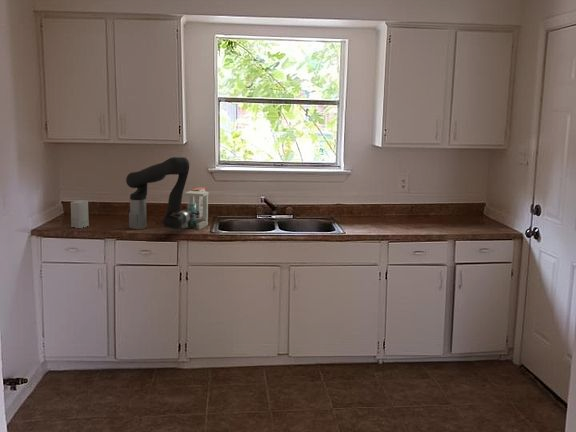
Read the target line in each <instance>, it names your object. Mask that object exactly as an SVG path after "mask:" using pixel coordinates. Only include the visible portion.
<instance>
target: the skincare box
mask: <svg viewBox="0 0 576 432" xmlns="http://www.w3.org/2000/svg"><path fill="white" fill-rule="evenodd" d="M70 220H71V221H70V223H71V225H70V226H71V227H75V228H74V229H77V228H81V229H84V228H88V227H90V223H89V201H88V200H84V199H83V200H82V199H79V200H75V201H74V200H73V201H70ZM87 226H88V227H87ZM83 227H84V228H83Z"/></svg>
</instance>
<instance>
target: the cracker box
mask: <svg viewBox="0 0 576 432" xmlns="http://www.w3.org/2000/svg"><path fill="white" fill-rule="evenodd" d="M207 190H208V189H207V187H204V186H203V187H196V188H193V189H191V190H190V191H200V192H208V191H207ZM194 203H196V211H198V212H200V217H199V219H203V197H199V196H194Z"/></svg>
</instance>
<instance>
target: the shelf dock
mask: <svg viewBox="0 0 576 432" xmlns="http://www.w3.org/2000/svg"><path fill="white" fill-rule="evenodd" d="M183 194H184V195H183V196H184V197H185V196H186V197H189V198H188V199H189V202H188V203H194V196H199V197H203V219H199V218H196V230H201V229H202V228H205V227H206V226H208V224H209V221H208V220H209V194H210V193H209V191H207V192H200V191H191V190H189V191H186V192H183ZM186 228H189V227H188V222H187V223H185V224H182V226H181V229H186Z"/></svg>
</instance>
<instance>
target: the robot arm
mask: <svg viewBox="0 0 576 432" xmlns="http://www.w3.org/2000/svg"><path fill="white" fill-rule="evenodd" d="M189 171H190V161H189V159H188V158H187V157H181V156H179V157H178V156H174V157H170V158H168V159H166V160H164V161H162V162H161V163H156V164H153V165H150V166H149V167H145V168H144V169H142V170H138V171H133V172H130V173H128V174H127V175H126V179H125V182H126V185H127V186H128V187H129V188H132V189H136V190H135V191H134V192H132V193H131V194H130V195H129V212H128V224H129V229H134V230H142V229H146V228H147V195H148V184H150V183H151V184H153V183H156V182H160V181H162V180H164V179H165V178H166V176H170V175H175V176H176V175H178V177H177V181H176V182H175V185H174V186H173V188H172V189H171V191H170V193H169V195H168V203H167V209H166V212H165V215H164V217H163V219H162V224H163V226H164V227H165V228H169V229H174V230H180V229H182V224H185V223H187V222H189V221H190V220H191V219H192V218H194V217H196V218H199V217H200V212H198V211H196V212H190V211H189V210H188V209H183V210H181V209H182V201H183V196H184V195H183V194H184V189H185V186H186V183H187V179H188V175H189ZM173 213H175V214H174V215H172V214H173Z"/></svg>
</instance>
